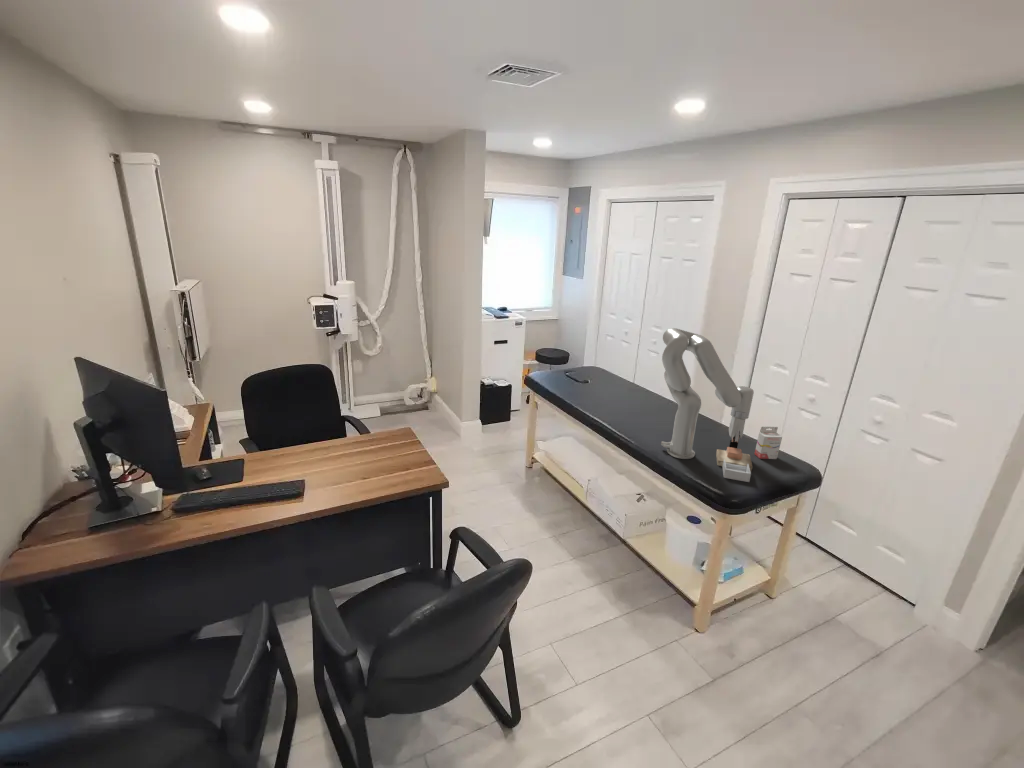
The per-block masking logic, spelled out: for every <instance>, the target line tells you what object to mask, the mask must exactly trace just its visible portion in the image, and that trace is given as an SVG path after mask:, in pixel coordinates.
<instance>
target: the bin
mask: <svg viewBox="0 0 1024 768" xmlns="http://www.w3.org/2000/svg"><path fill="white" fill-rule="evenodd" d="M721 467H722V468H721V469H722V474H723V478H724V479H731V480H734V481H735V480H736V481H739V482H740V481H741V482H747V483H750V481H751V476H752V471H750V468H749V464H747V467H746V466H740V465H734V464H728V463H725V460H724V461H723V466H721Z"/></svg>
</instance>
